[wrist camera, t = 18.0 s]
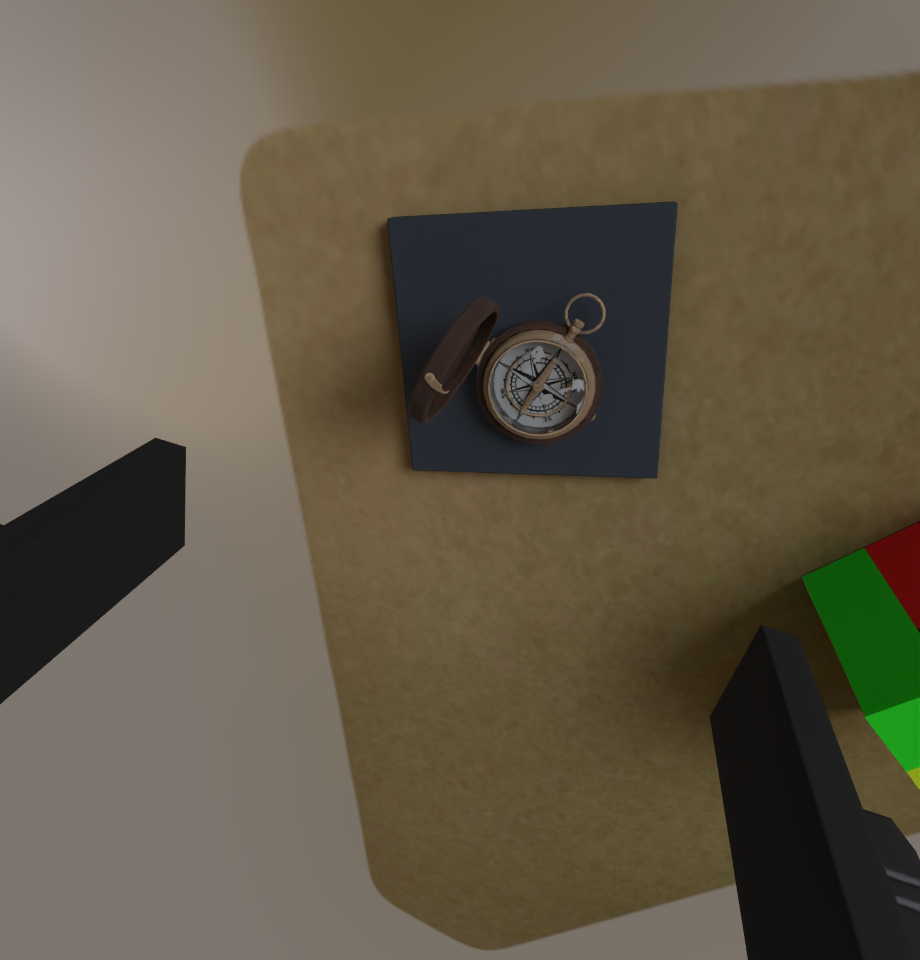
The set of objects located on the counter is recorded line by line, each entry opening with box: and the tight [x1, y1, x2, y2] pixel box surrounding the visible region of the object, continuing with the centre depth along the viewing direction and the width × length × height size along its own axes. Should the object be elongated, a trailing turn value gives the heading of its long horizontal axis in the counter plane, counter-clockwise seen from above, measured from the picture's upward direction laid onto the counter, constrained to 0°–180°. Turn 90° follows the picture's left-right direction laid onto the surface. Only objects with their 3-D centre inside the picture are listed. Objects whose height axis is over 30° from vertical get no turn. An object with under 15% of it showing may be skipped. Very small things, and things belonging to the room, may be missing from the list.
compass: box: [408, 293, 606, 444], centre depth 29 cm, size 8×8×7 cm
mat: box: [388, 202, 677, 478], centre depth 32 cm, size 13×13×1 cm
